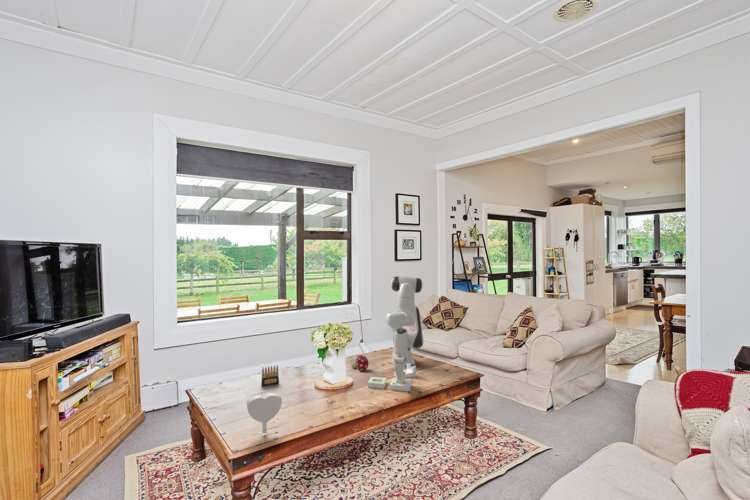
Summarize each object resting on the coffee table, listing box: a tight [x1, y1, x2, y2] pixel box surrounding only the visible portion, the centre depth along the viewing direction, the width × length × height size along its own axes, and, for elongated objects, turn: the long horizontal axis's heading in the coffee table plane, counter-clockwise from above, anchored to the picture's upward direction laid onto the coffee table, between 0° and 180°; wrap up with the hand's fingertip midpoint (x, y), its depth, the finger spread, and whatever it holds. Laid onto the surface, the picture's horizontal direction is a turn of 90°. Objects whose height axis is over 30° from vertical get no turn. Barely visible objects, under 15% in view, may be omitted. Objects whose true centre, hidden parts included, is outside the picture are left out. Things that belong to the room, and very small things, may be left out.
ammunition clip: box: [260, 364, 280, 387], centre depth 238 cm, size 11×2×12 cm, turn 118°
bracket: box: [393, 363, 417, 379], centre depth 254 cm, size 13×7×8 cm, turn 120°
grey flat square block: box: [367, 376, 387, 390], centre depth 236 cm, size 10×10×4 cm
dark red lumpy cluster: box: [351, 354, 370, 372], centre depth 268 cm, size 11×11×15 cm
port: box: [389, 377, 413, 394], centre depth 233 cm, size 12×12×5 cm
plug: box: [396, 372, 406, 384], centre depth 233 cm, size 3×5×11 cm, turn 79°
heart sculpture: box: [246, 392, 283, 434], centre depth 178 cm, size 16×5×18 cm, turn 116°
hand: (400, 377), depth 234 cm, fingers open, 8 cm apart
